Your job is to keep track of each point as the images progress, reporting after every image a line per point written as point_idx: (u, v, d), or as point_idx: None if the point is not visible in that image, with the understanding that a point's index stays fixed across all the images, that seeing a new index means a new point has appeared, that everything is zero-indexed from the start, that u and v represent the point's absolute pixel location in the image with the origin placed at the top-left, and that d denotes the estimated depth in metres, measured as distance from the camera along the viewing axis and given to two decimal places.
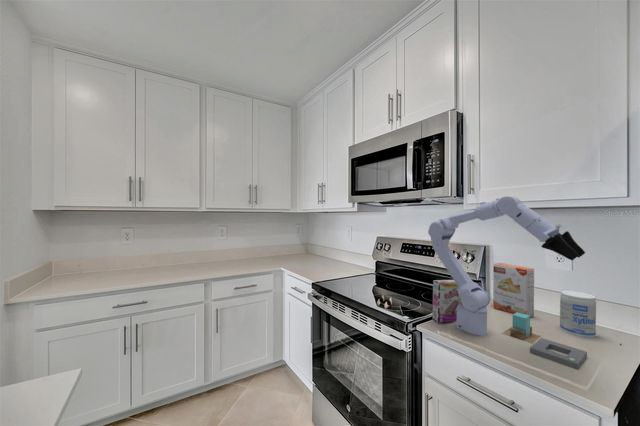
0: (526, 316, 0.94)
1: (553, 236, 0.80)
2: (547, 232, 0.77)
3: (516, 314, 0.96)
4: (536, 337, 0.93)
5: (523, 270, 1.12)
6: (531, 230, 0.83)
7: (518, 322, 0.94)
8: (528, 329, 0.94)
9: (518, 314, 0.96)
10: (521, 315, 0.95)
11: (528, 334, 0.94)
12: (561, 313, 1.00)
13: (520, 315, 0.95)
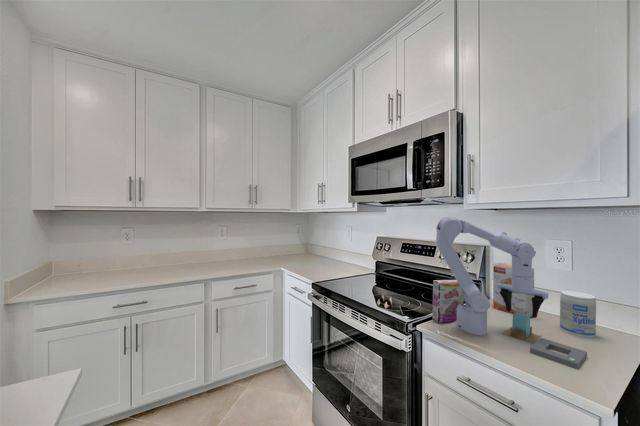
0: (526, 316, 0.94)
1: (522, 292, 0.95)
2: None
3: (516, 314, 0.96)
4: (536, 337, 0.93)
5: None
6: (528, 281, 0.92)
7: (518, 322, 0.94)
8: (528, 329, 0.94)
9: (518, 314, 0.96)
10: (521, 315, 0.95)
11: (528, 334, 0.94)
12: (561, 313, 1.00)
13: (520, 315, 0.95)
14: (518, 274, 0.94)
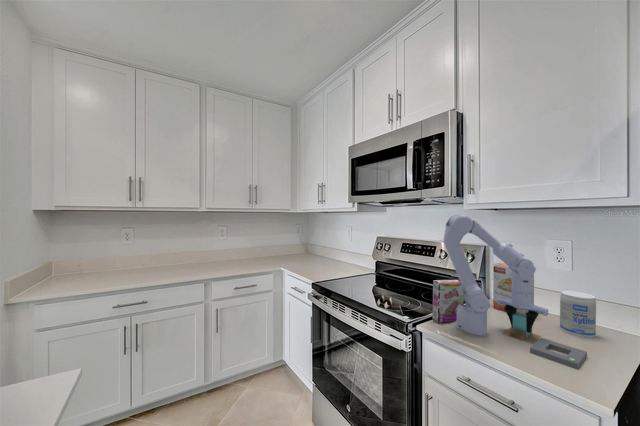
0: None
1: (522, 307, 0.95)
2: None
3: (516, 314, 0.96)
4: (536, 337, 0.93)
5: None
6: (527, 297, 0.92)
7: (518, 322, 0.94)
8: None
9: (518, 314, 0.96)
10: (521, 315, 0.95)
11: (528, 334, 0.94)
12: (561, 313, 1.00)
13: (520, 315, 0.95)
14: (518, 290, 0.94)
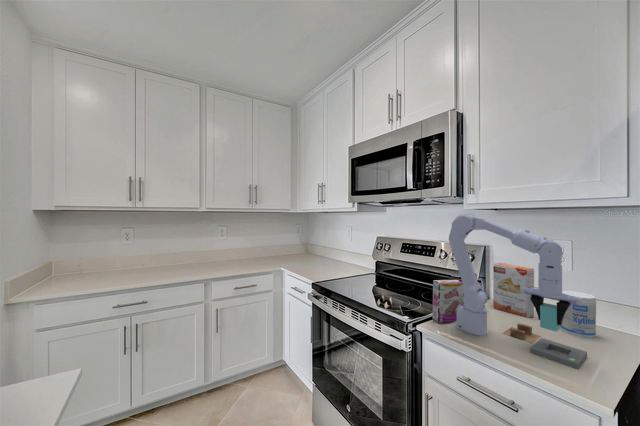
0: (556, 307, 0.84)
1: (551, 297, 0.85)
2: None
3: (544, 305, 0.86)
4: (536, 337, 0.93)
5: (523, 270, 1.12)
6: (558, 285, 0.82)
7: (547, 314, 0.84)
8: None
9: (546, 305, 0.86)
10: (550, 306, 0.85)
11: (558, 327, 0.84)
12: None
13: (549, 306, 0.84)
14: (542, 276, 0.84)
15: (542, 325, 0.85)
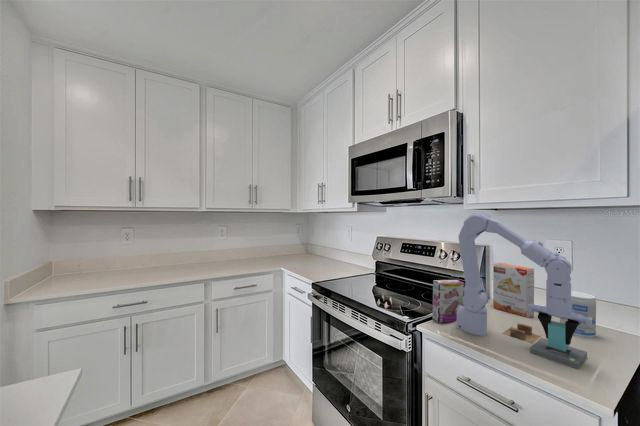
0: (564, 326, 0.81)
1: (559, 315, 0.82)
2: None
3: (552, 323, 0.83)
4: (536, 337, 0.93)
5: (523, 270, 1.12)
6: (567, 304, 0.79)
7: (555, 333, 0.81)
8: None
9: (554, 323, 0.83)
10: (558, 324, 0.82)
11: (567, 346, 0.81)
12: None
13: (557, 325, 0.82)
14: (549, 294, 0.82)
15: (550, 344, 0.82)
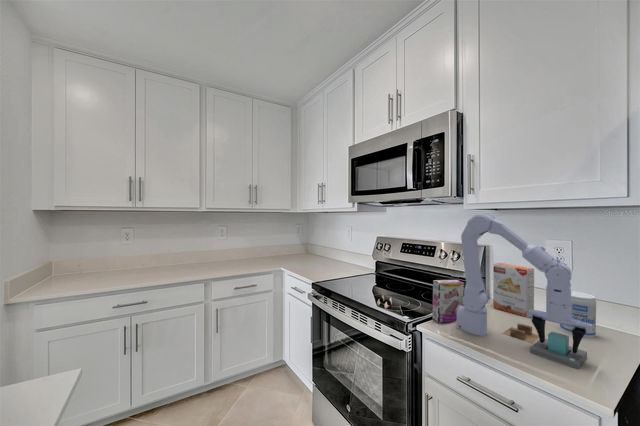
0: (564, 337, 0.81)
1: None
2: None
3: (552, 334, 0.83)
4: (536, 337, 0.93)
5: (523, 270, 1.12)
6: (567, 310, 0.79)
7: (555, 344, 0.81)
8: (567, 352, 0.81)
9: (554, 334, 0.83)
10: (558, 335, 0.82)
11: None
12: None
13: (557, 336, 0.82)
14: (549, 300, 0.82)
15: None
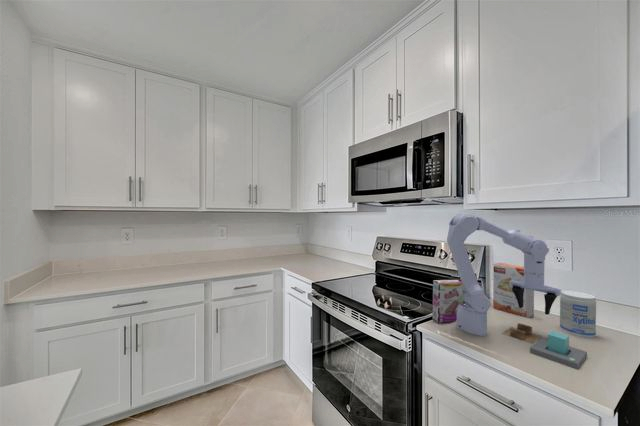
0: (564, 337, 0.81)
1: (534, 289, 0.96)
2: None
3: (552, 334, 0.83)
4: (536, 337, 0.93)
5: (523, 270, 1.12)
6: (540, 278, 0.93)
7: (555, 344, 0.81)
8: (567, 352, 0.81)
9: (554, 334, 0.83)
10: (558, 335, 0.82)
11: None
12: (561, 313, 1.00)
13: (557, 336, 0.82)
14: (531, 271, 0.94)
15: None
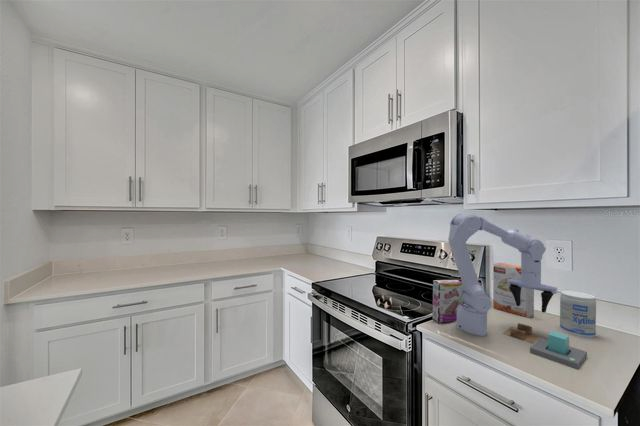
0: (565, 337, 0.81)
1: (531, 287, 0.98)
2: None
3: (552, 334, 0.83)
4: (536, 337, 0.93)
5: None
6: (537, 276, 0.95)
7: (555, 344, 0.81)
8: (567, 352, 0.81)
9: (554, 334, 0.83)
10: (558, 335, 0.82)
11: None
12: (561, 313, 1.00)
13: (557, 336, 0.82)
14: (529, 270, 0.96)
15: None
